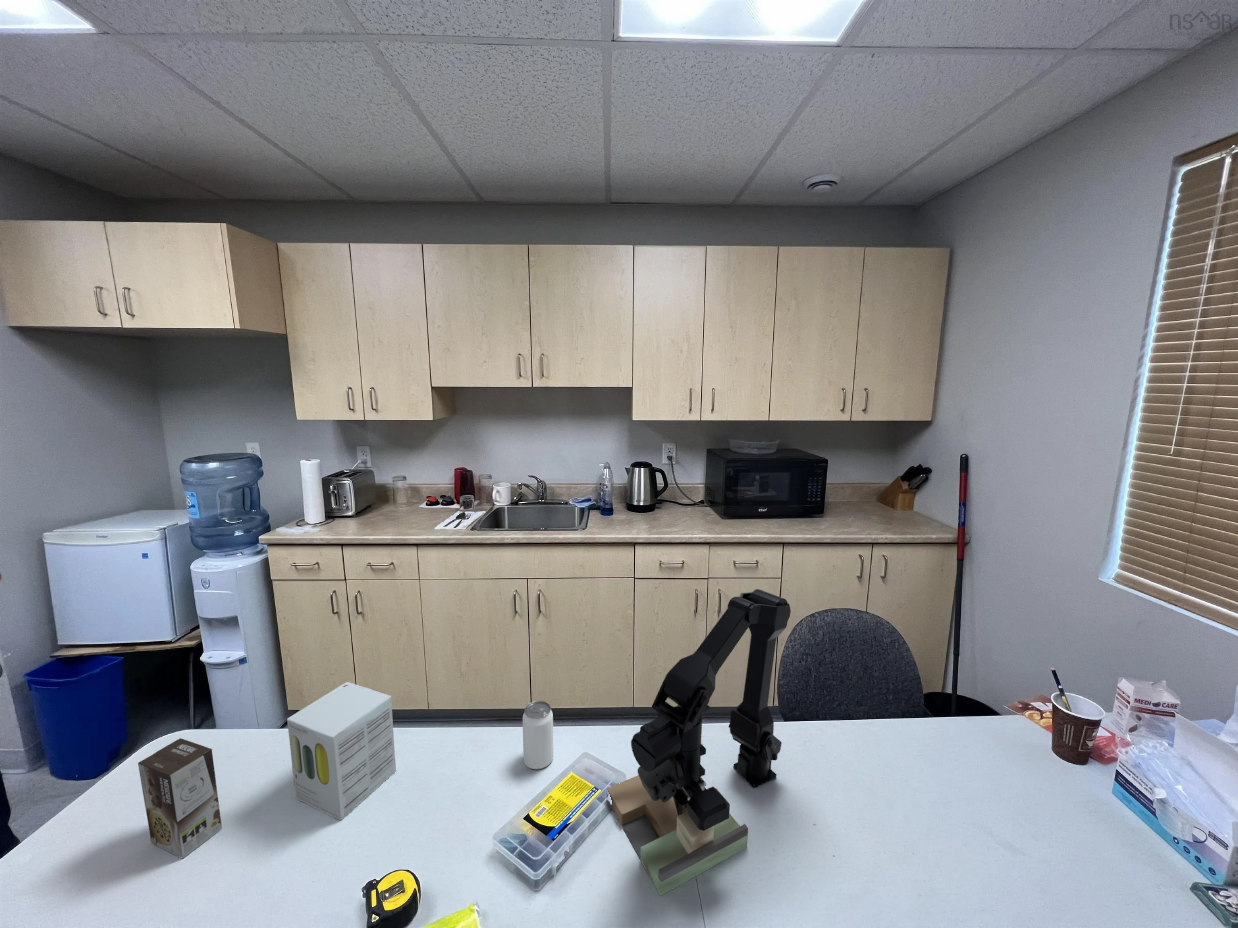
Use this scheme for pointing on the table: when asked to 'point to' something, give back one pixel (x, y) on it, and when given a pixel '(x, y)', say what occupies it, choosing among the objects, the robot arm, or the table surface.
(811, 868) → the table surface
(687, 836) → the maple block
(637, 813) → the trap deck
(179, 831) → the coffee box
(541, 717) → the can
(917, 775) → the table surface
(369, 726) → the supplement box
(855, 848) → the table surface
